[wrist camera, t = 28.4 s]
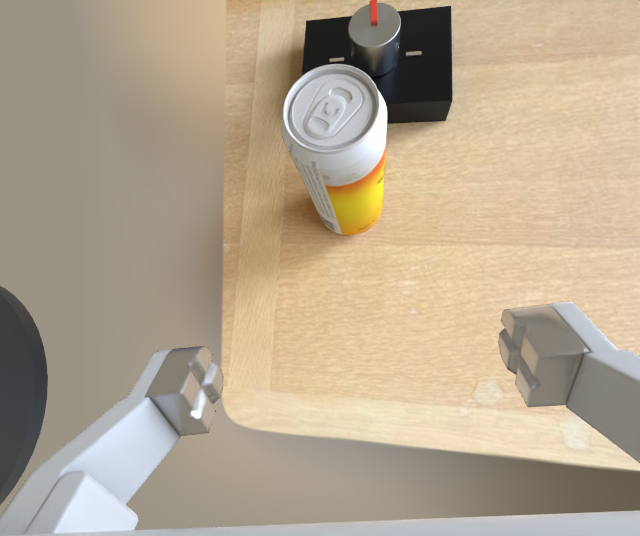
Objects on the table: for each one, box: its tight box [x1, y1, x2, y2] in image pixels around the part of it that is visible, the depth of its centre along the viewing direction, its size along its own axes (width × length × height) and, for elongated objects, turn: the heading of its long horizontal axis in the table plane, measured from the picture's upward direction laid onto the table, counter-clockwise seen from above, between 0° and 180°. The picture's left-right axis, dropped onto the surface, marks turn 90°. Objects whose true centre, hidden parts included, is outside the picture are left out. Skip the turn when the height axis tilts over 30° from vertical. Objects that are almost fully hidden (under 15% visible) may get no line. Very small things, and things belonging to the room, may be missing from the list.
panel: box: [302, 6, 452, 123], centre depth 33 cm, size 14×10×3 cm
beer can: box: [281, 64, 387, 235], centre depth 25 cm, size 6×6×15 cm
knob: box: [348, 0, 401, 77], centre depth 30 cm, size 4×4×4 cm
